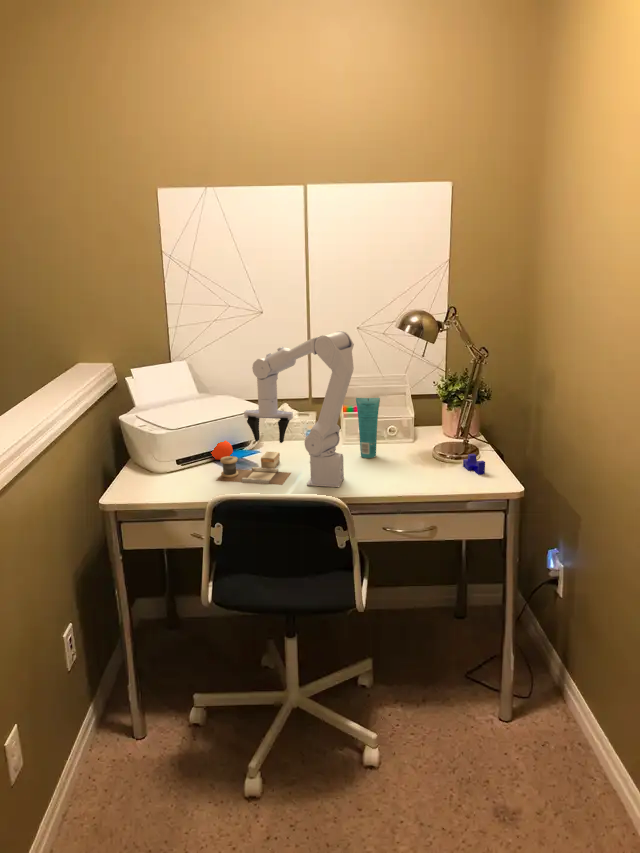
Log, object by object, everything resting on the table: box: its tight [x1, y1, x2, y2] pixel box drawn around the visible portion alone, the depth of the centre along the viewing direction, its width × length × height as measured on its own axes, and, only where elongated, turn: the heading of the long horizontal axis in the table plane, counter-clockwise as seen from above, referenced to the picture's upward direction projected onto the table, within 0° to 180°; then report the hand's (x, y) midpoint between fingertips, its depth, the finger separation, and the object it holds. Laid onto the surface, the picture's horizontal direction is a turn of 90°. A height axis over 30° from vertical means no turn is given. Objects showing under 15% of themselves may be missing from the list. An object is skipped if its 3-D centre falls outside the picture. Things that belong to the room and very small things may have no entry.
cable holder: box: [462, 453, 486, 476], centre depth 220 cm, size 8×4×4 cm, turn 12°
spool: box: [219, 455, 239, 478], centre depth 216 cm, size 5×5×5 cm
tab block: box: [260, 451, 281, 469], centre depth 224 cm, size 4×6×5 cm
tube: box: [355, 397, 381, 459], centre depth 232 cm, size 7×5×19 cm, turn 91°
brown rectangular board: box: [215, 466, 292, 486], centre depth 215 cm, size 20×10×2 cm, turn 77°
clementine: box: [210, 440, 234, 460], centre depth 232 cm, size 8×7×7 cm
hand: (269, 441), depth 222 cm, fingers open, 7 cm apart
